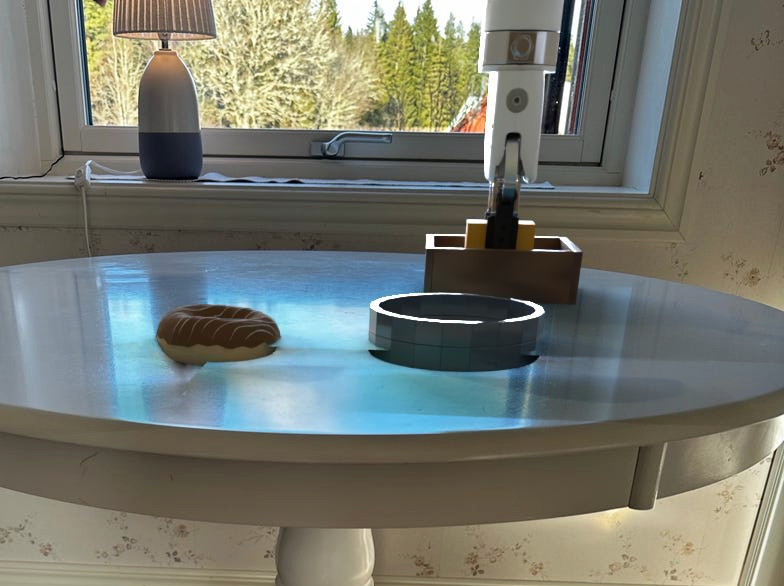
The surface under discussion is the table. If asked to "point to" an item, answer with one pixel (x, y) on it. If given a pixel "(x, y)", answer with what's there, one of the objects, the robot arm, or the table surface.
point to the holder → (504, 269)
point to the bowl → (455, 331)
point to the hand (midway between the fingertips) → (498, 253)
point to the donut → (216, 334)
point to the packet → (478, 234)
